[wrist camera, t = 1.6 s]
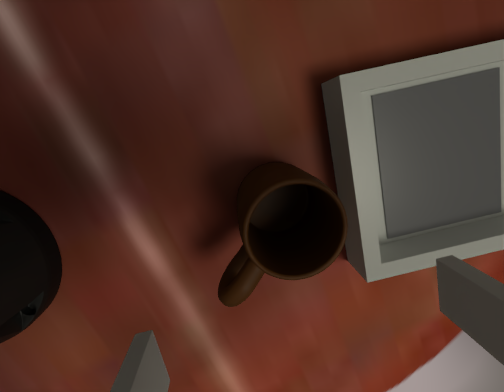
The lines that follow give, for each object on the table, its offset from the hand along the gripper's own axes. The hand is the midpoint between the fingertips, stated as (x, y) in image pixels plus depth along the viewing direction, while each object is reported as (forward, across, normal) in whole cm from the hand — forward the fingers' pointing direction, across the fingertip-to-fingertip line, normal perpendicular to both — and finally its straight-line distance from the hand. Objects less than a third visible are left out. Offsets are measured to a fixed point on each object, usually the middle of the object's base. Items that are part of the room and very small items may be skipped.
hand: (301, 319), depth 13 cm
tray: (+16, +18, +2) cm, 24 cm away
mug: (+17, 0, 0) cm, 17 cm away
